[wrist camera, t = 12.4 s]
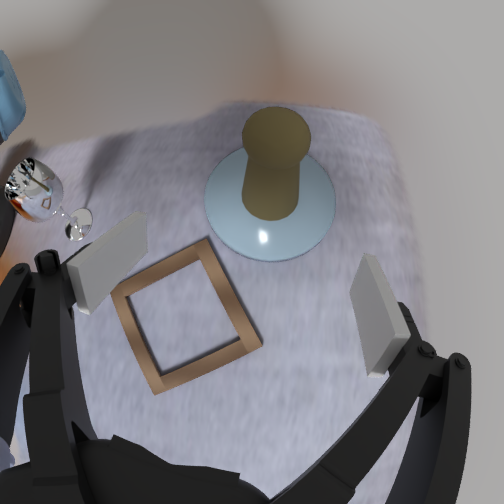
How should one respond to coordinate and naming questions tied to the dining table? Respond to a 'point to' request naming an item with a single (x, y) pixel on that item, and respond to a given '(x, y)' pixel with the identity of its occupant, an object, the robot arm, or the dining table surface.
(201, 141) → the dining table surface
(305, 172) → the saucer
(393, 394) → the robot arm
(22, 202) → the wineglass
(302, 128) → the cork
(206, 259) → the walnut frame
